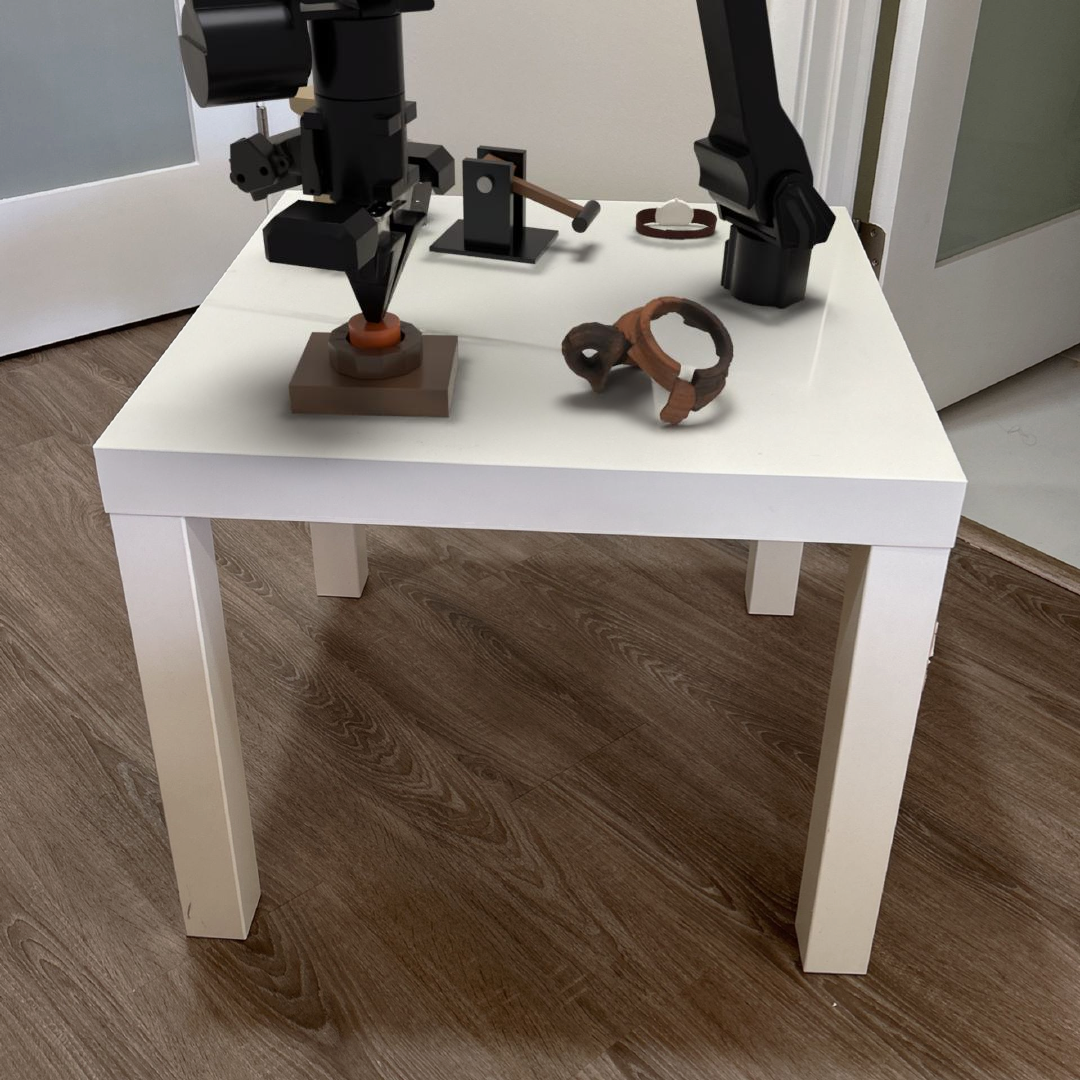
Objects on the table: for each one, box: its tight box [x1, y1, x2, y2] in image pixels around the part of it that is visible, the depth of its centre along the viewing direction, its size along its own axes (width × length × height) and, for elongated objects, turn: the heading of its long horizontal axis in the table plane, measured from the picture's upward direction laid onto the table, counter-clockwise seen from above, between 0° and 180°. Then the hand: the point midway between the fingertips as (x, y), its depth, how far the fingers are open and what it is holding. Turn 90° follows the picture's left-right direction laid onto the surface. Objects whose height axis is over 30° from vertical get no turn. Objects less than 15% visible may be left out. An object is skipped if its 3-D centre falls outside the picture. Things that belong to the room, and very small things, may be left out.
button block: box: [288, 319, 460, 418], centre depth 85 cm, size 11×9×4 cm
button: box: [348, 311, 401, 349], centre depth 84 cm, size 4×4×2 cm
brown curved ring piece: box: [561, 295, 734, 425], centre depth 84 cm, size 12×10×8 cm
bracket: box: [428, 144, 560, 265], centre depth 107 cm, size 10×8×9 cm
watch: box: [635, 197, 718, 240], centre depth 112 cm, size 8×5×4 cm, turn 91°
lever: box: [483, 154, 602, 234], centre depth 105 cm, size 11×5×2 cm, turn 73°
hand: (374, 320), depth 83 cm, fingers closed, pressing on button
